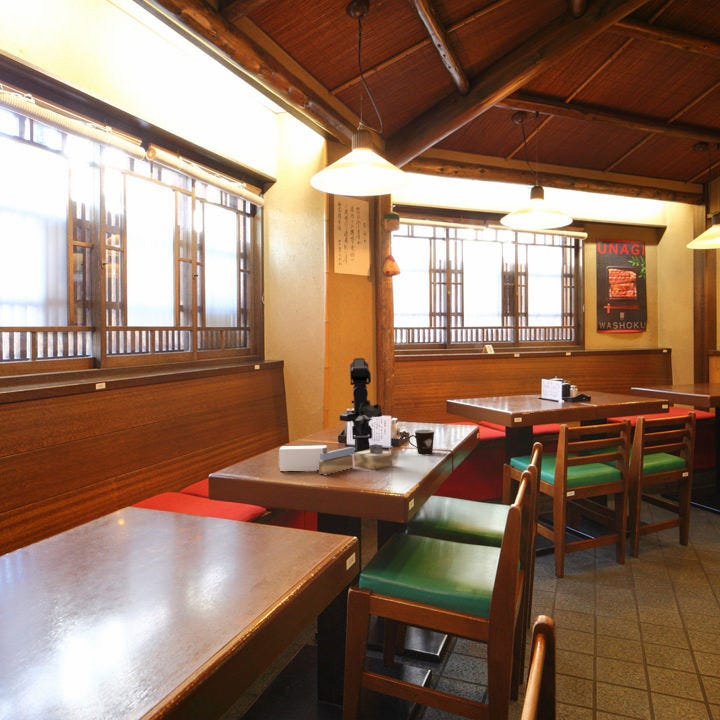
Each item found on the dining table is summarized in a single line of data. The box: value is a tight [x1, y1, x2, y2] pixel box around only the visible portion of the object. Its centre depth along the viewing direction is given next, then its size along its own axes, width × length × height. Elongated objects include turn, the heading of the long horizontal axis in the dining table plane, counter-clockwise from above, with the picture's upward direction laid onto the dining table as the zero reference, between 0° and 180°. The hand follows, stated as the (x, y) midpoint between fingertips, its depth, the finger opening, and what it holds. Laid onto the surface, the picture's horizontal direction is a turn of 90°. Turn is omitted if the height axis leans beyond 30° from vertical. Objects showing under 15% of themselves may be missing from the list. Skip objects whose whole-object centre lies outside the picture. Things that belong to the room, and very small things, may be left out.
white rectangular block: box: [277, 444, 328, 472], centre depth 224 cm, size 20×6×9 cm, turn 87°
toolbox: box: [353, 454, 393, 471], centre depth 227 cm, size 12×10×4 cm
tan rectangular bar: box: [318, 454, 354, 476], centre depth 220 cm, size 3×15×5 cm, turn 133°
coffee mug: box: [407, 429, 435, 455], centre depth 248 cm, size 12×9×10 cm
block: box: [320, 446, 355, 460], centre depth 220 cm, size 2×16×4 cm, turn 133°
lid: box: [354, 443, 392, 459], centre depth 227 cm, size 12×10×5 cm
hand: (361, 436), depth 228 cm, fingers closed
